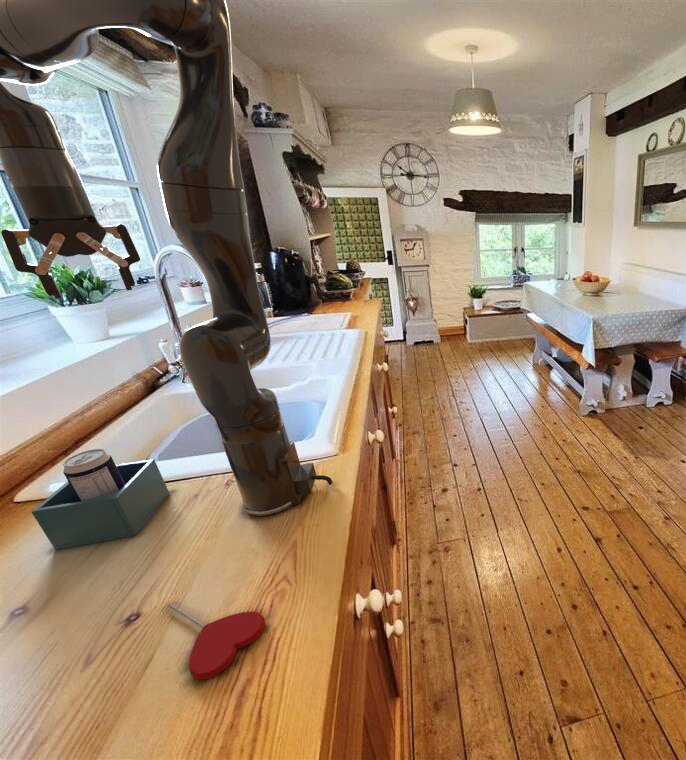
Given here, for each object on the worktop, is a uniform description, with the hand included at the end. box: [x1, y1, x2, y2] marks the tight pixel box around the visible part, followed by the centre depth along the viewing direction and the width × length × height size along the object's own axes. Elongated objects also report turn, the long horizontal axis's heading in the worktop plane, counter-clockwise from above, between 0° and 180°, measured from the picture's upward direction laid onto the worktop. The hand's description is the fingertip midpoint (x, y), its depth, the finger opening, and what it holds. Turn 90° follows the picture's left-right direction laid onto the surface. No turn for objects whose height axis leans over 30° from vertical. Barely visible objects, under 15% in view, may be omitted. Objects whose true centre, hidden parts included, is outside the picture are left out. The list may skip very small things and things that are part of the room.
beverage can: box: [62, 448, 125, 502], centre depth 68 cm, size 6×6×12 cm
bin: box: [30, 458, 170, 551], centre depth 69 cm, size 11×11×8 cm
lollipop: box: [166, 602, 266, 680], centre depth 51 cm, size 8×1×15 cm
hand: (95, 293), depth 67 cm, fingers open, 8 cm apart
